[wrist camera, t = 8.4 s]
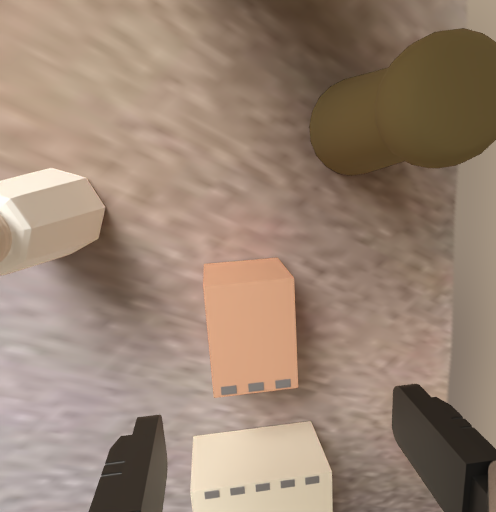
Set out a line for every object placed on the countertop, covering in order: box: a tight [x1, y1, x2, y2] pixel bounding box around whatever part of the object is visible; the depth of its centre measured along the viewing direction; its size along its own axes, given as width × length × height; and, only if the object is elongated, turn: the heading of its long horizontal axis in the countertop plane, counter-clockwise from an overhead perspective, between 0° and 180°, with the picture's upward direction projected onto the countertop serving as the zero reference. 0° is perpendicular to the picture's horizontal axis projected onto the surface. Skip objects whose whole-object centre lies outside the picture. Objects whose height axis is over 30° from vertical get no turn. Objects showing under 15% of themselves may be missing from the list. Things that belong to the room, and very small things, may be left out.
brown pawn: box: [309, 28, 496, 176], centre depth 19 cm, size 6×6×11 cm
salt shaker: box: [0, 168, 105, 276], centre depth 18 cm, size 5×5×11 cm
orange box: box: [203, 258, 298, 398], centre depth 24 cm, size 7×5×5 cm
